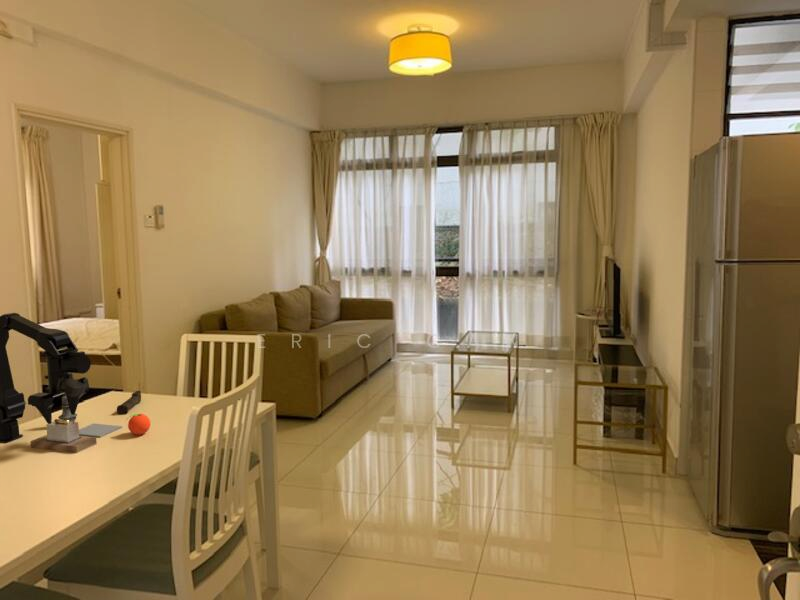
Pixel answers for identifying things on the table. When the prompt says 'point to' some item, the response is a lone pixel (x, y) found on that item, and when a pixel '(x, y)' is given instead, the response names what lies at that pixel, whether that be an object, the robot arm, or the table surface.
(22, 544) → the table surface
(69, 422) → the lever cap
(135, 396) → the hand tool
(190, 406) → the table surface
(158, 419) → the table surface
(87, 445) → the body
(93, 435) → the rubber mat
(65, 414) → the weathered candle holder
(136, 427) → the tomato
